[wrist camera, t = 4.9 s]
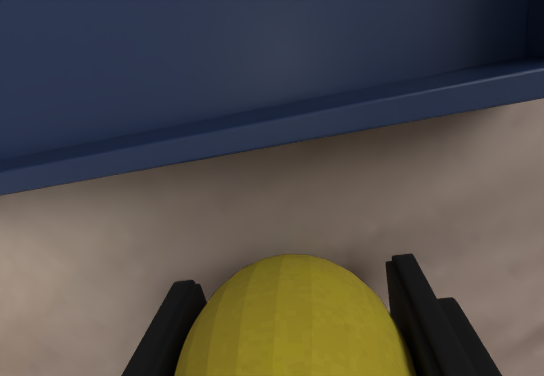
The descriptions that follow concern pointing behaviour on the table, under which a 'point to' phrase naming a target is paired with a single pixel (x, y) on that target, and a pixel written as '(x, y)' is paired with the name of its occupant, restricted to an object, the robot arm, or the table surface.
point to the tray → (241, 76)
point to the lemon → (294, 325)
